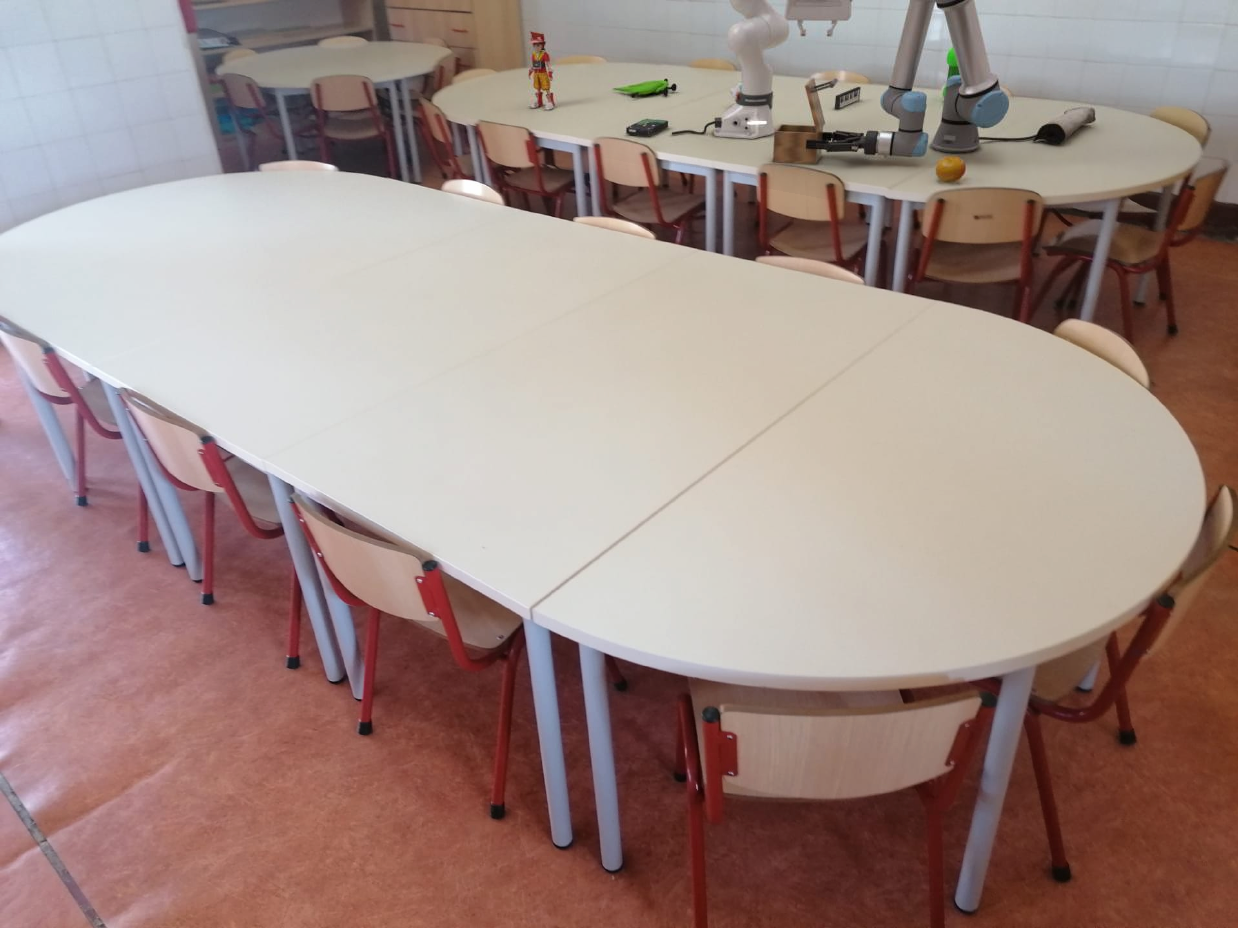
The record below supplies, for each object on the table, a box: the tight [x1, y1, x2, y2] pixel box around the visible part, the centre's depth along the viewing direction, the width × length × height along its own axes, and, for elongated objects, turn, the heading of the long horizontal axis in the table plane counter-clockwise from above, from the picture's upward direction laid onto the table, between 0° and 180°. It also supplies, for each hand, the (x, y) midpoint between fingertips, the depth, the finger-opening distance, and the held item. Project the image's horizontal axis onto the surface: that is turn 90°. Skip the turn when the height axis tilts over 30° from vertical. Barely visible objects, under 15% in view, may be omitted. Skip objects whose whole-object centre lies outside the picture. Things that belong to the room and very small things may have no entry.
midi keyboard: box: [834, 86, 861, 110], centre depth 359 cm, size 18×1×5 cm, turn 138°
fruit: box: [935, 155, 967, 183], centre depth 275 cm, size 8×8×8 cm
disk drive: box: [625, 118, 669, 137], centre depth 342 cm, size 10×3×15 cm
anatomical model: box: [729, 81, 742, 102], centre depth 363 cm, size 15×10×10 cm
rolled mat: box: [1032, 106, 1097, 146], centre depth 310 cm, size 30×9×10 cm
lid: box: [804, 77, 839, 132], centre depth 291 cm, size 15×10×9 cm
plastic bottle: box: [942, 46, 960, 98], centre depth 348 cm, size 10×10×25 cm
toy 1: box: [527, 31, 556, 111], centre depth 374 cm, size 12×9×30 cm
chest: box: [772, 123, 824, 165], centre depth 301 cm, size 14×10×10 cm, turn 69°
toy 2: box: [612, 78, 677, 99], centre depth 396 cm, size 28×5×30 cm
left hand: (816, 36), depth 281 cm, fingers open, 7 cm apart
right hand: (809, 140), depth 299 cm, fingers closed on chest, 10 cm apart
